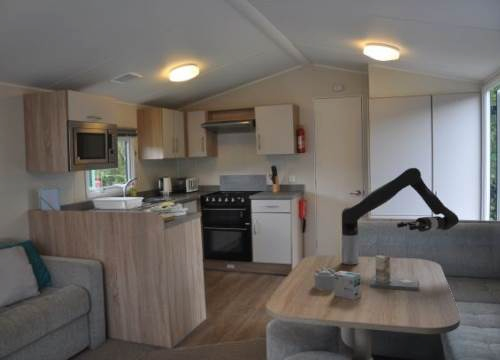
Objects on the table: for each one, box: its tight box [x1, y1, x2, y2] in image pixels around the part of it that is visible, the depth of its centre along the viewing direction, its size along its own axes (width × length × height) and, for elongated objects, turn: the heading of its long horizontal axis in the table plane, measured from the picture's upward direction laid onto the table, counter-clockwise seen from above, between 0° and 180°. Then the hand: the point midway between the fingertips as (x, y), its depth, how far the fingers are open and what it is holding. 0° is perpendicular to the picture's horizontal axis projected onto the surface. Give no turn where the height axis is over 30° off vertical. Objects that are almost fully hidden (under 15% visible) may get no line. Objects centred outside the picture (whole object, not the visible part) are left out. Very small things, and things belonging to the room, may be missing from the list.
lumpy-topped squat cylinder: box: [314, 267, 337, 291], centre depth 214 cm, size 10×13×9 cm
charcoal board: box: [369, 274, 420, 292], centre depth 214 cm, size 22×16×2 cm
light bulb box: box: [333, 270, 362, 301], centre depth 198 cm, size 11×7×11 cm, turn 47°
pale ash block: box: [374, 254, 391, 282], centre depth 216 cm, size 5×5×12 cm
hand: (403, 226), depth 222 cm, fingers open, 8 cm apart
